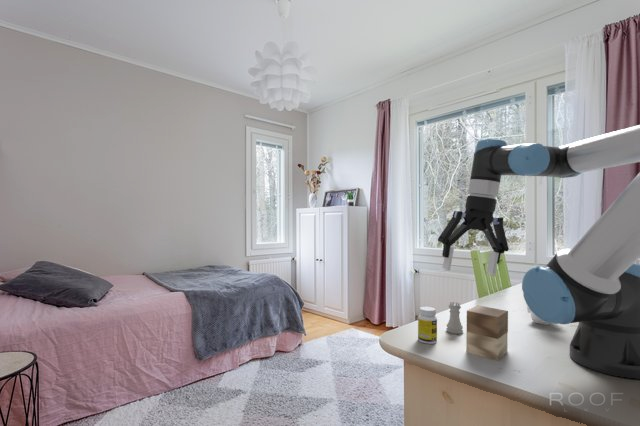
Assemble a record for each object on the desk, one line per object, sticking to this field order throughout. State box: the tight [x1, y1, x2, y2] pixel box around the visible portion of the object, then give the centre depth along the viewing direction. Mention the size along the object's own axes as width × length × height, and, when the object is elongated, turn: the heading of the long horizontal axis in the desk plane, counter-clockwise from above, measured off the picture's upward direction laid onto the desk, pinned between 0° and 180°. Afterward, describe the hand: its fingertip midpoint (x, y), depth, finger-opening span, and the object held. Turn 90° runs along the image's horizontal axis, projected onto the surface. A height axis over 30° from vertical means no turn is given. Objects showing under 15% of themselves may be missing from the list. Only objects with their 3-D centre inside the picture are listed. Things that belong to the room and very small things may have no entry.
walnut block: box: [466, 304, 509, 339], centre depth 82 cm, size 7×7×5 cm
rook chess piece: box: [446, 301, 464, 335], centre depth 96 cm, size 4×4×8 cm
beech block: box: [465, 330, 509, 361], centre depth 82 cm, size 7×7×5 cm
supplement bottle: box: [417, 306, 438, 345], centre depth 89 cm, size 5×5×8 cm
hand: (468, 272), depth 96 cm, fingers open, 13 cm apart
